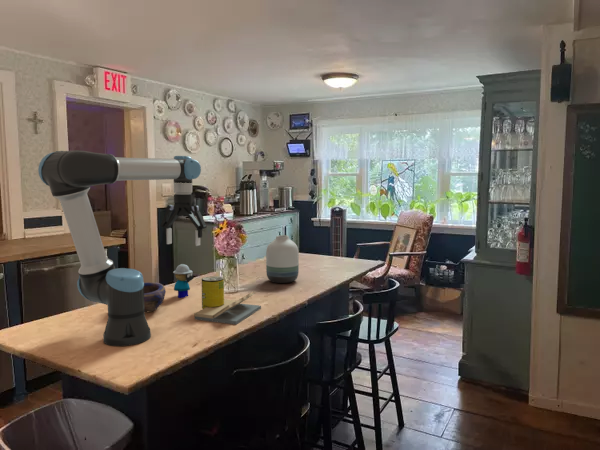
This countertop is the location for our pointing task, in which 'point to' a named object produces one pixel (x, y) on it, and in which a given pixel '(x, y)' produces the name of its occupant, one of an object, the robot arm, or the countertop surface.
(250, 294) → the plank far
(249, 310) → the underlay
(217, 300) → the beverage can
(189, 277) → the toy
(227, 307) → the tan flat block
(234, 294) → the countertop surface
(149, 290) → the bowl
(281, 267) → the vase
